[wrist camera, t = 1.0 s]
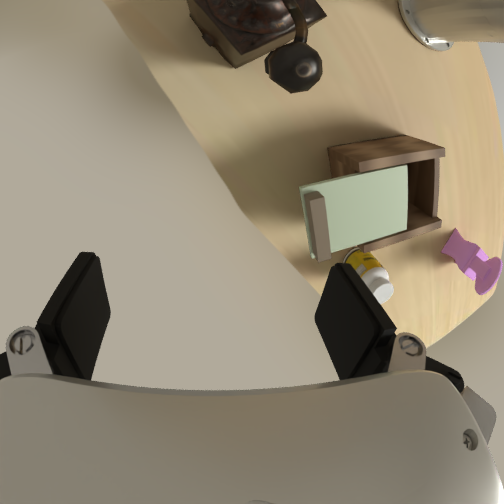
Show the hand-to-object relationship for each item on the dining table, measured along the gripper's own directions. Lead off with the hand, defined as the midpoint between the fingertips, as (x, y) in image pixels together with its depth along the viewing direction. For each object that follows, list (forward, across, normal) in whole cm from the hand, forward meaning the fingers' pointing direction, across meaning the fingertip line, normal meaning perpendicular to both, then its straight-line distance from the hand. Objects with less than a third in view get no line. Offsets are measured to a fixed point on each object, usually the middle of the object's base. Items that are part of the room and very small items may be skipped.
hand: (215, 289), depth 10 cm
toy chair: (+26, -53, +10) cm, 60 cm away
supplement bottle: (+27, -25, +14) cm, 39 cm away
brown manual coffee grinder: (+27, -3, -17) cm, 32 cm away
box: (+26, -24, 0) cm, 36 cm away
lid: (+18, -17, +2) cm, 25 cm away
